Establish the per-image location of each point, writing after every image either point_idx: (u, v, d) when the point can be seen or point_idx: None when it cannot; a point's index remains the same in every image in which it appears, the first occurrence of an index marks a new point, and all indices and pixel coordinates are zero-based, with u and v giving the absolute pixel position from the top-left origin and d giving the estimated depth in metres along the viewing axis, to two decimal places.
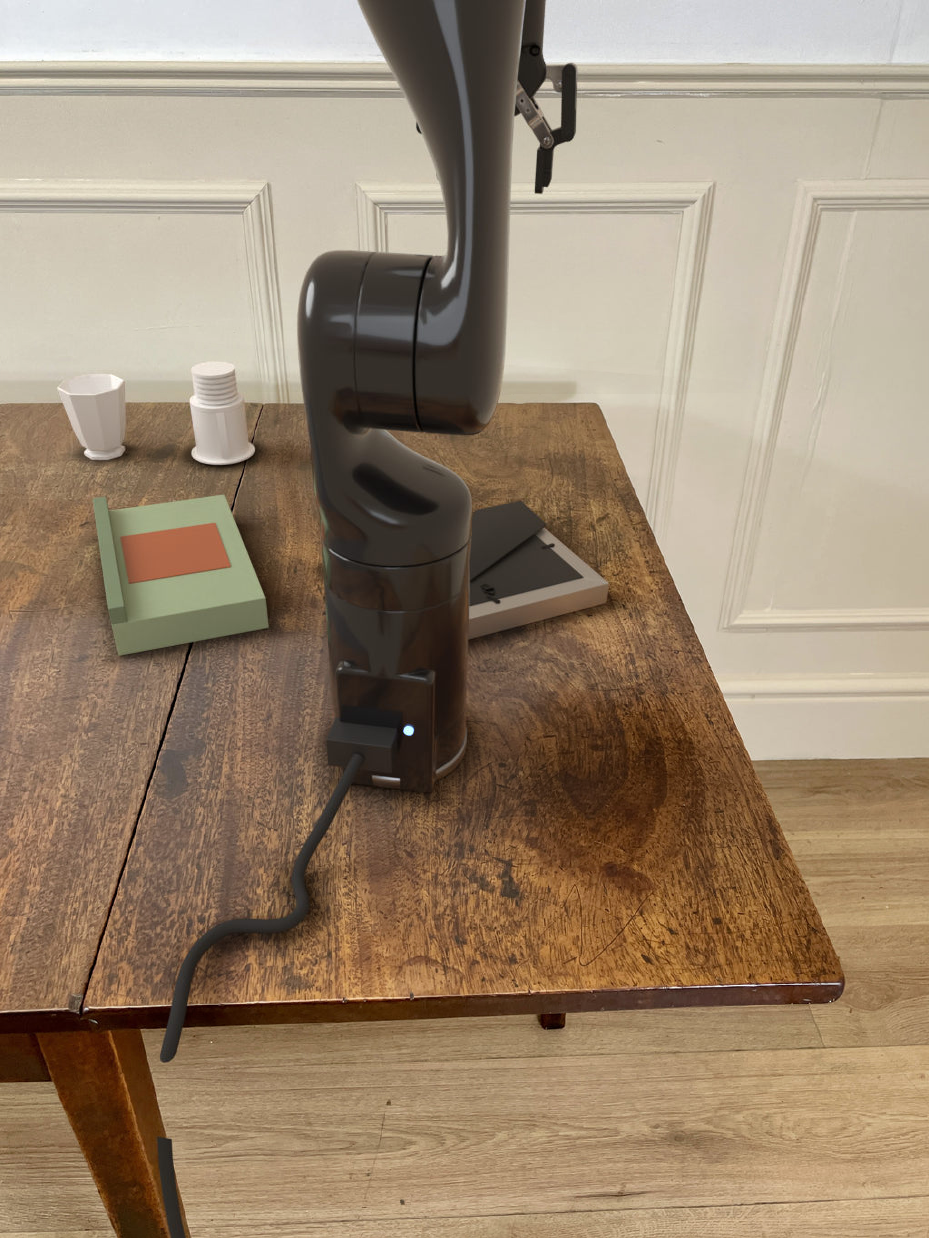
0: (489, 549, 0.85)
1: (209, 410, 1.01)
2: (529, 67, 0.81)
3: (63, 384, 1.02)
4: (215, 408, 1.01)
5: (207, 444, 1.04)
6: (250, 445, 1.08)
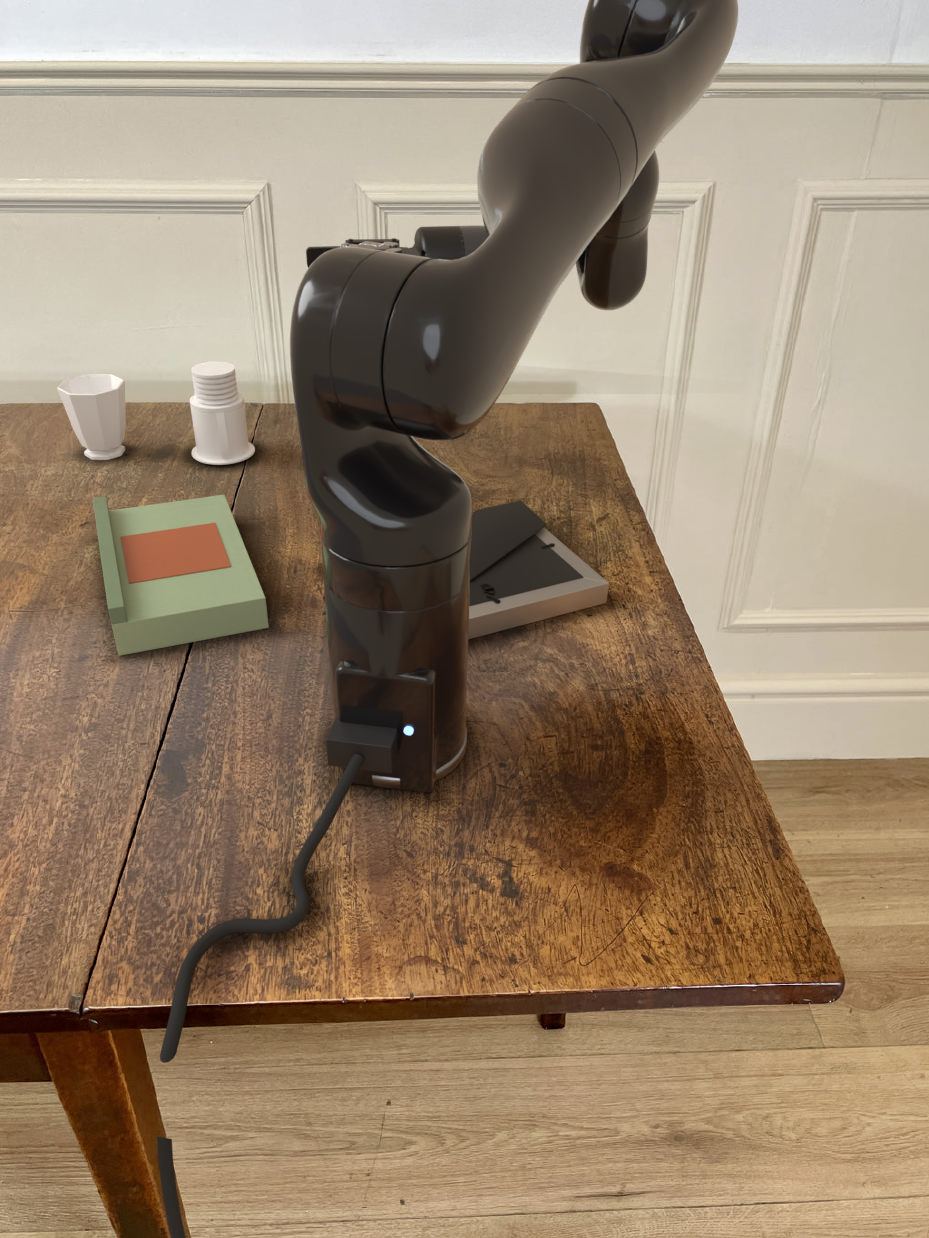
0: (489, 549, 0.85)
1: (209, 410, 1.01)
2: None
3: (63, 384, 1.02)
4: (215, 408, 1.01)
5: (207, 444, 1.04)
6: (250, 445, 1.08)
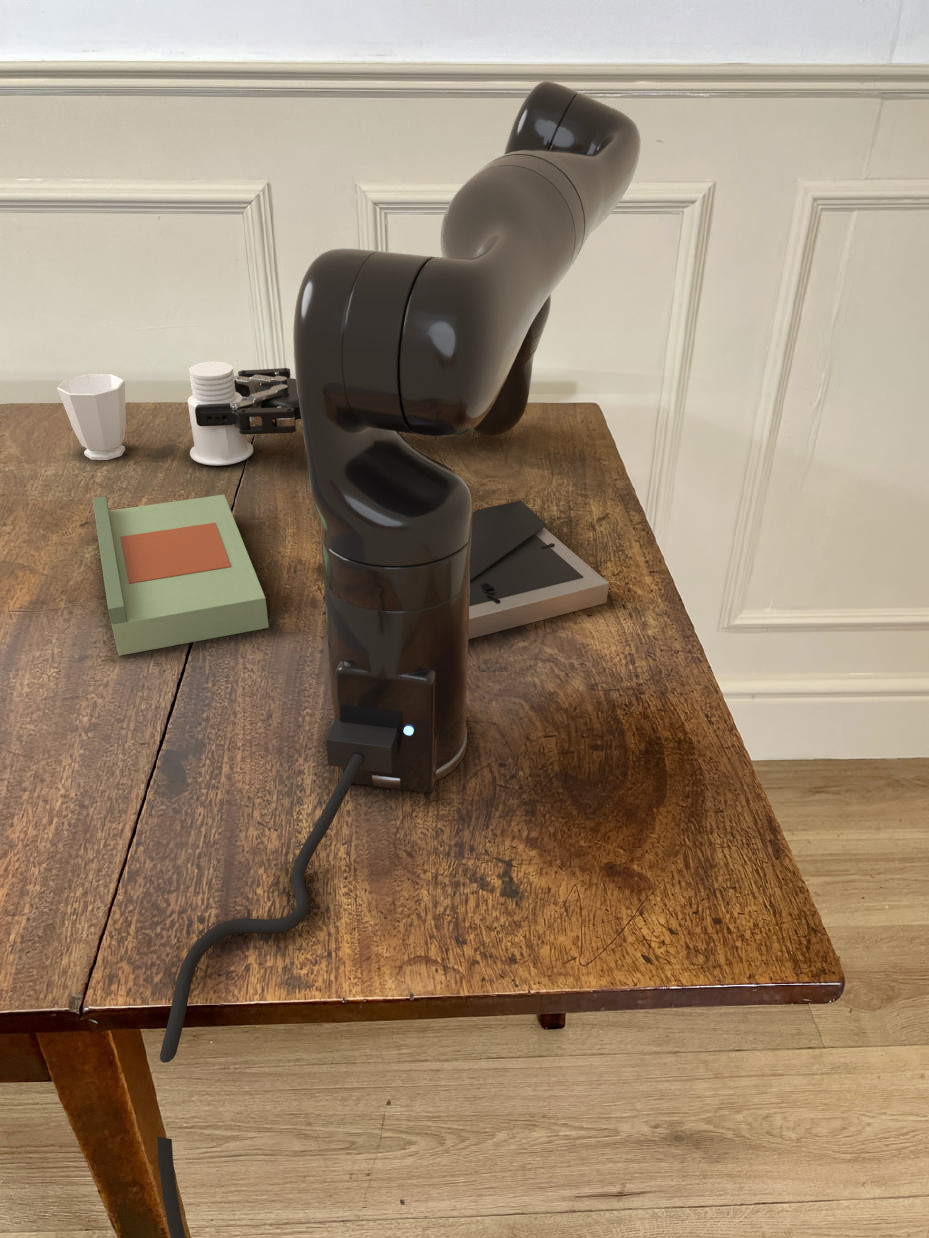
0: (489, 549, 0.85)
1: None
2: (293, 398, 1.03)
3: (63, 384, 1.02)
4: None
5: (206, 445, 1.04)
6: (248, 444, 1.08)
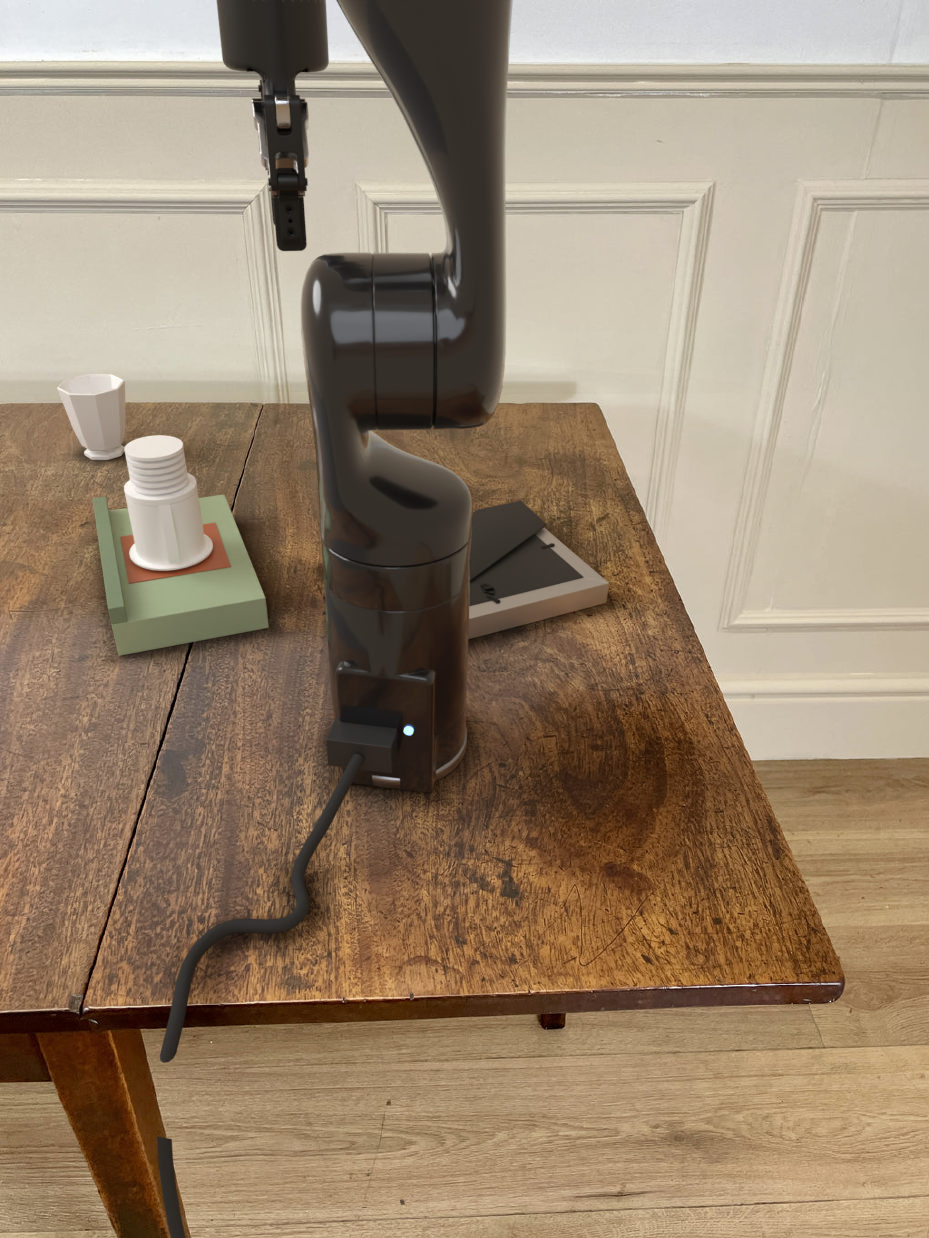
0: (489, 549, 0.85)
1: (150, 502, 0.76)
2: None
3: (63, 384, 1.02)
4: (158, 499, 0.76)
5: (149, 544, 0.79)
6: (207, 539, 0.83)
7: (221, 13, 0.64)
